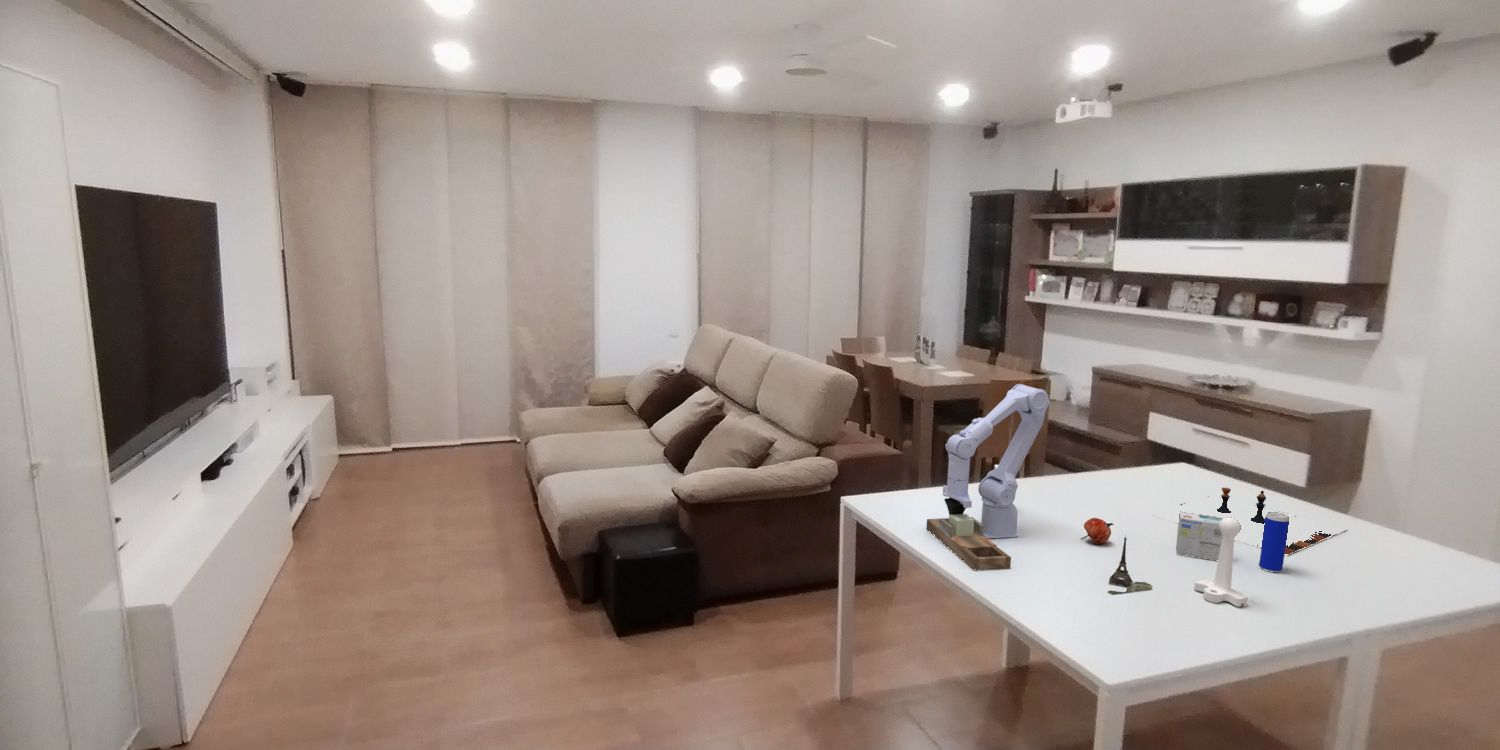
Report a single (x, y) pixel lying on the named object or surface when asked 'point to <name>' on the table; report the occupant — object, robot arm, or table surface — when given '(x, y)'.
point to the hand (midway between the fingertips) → (954, 524)
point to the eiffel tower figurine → (1126, 578)
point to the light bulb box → (1199, 535)
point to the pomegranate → (1098, 530)
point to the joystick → (1223, 569)
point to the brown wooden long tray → (970, 545)
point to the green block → (961, 524)
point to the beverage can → (1274, 541)
